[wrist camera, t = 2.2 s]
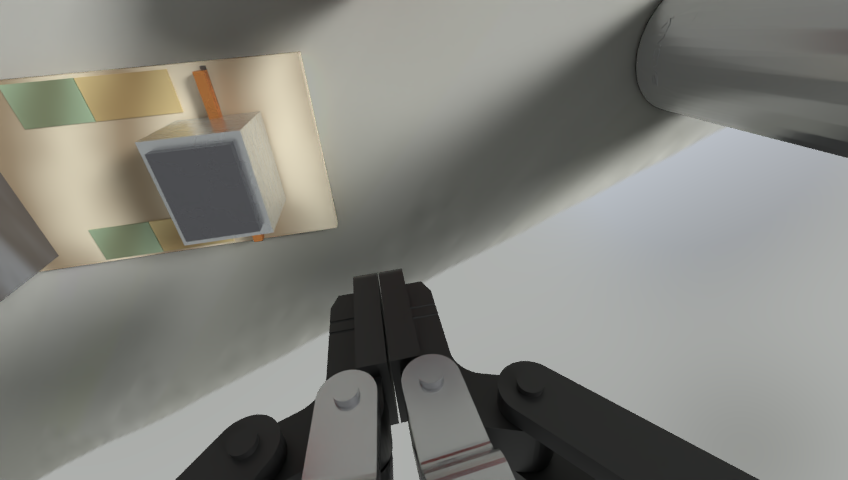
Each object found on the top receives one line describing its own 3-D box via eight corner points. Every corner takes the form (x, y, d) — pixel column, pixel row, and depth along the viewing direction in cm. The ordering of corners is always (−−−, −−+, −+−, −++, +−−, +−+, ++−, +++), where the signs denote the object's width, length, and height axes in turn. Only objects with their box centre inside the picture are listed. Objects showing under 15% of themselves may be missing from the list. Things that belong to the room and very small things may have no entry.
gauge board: (300, 51, 23) (282, 60, 17) (337, 220, 29) (334, 272, 23) (-100, 89, 21) (-292, 115, 14) (33, 265, 27) (-62, 335, 21)
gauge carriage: (246, 65, 22) (217, 76, 17) (295, 230, 27) (283, 273, 23) (156, 74, 21) (99, 87, 16) (225, 241, 27) (198, 287, 22)
